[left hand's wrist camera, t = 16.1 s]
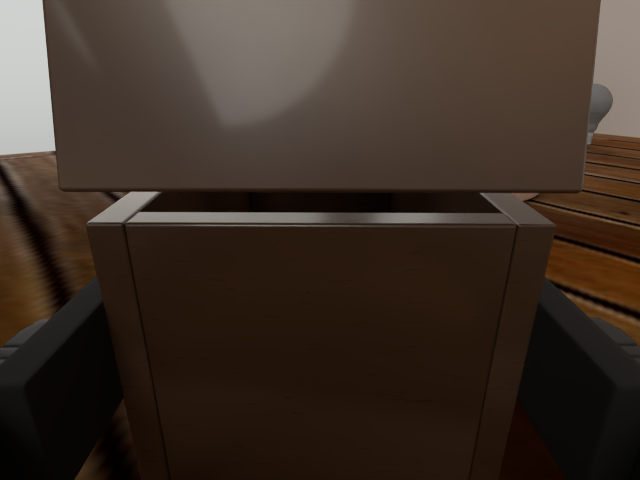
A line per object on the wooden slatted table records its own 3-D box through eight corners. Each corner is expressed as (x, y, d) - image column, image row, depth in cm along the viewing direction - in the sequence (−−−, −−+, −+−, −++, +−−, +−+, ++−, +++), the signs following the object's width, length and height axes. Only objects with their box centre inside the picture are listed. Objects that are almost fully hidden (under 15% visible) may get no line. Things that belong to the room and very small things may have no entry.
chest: (244, 272, 28) (233, 118, 24) (395, 272, 28) (407, 119, 24) (151, 531, 13) (83, 222, 9) (487, 532, 13) (558, 224, 9)
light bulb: (570, 148, 72) (583, 84, 69) (556, 142, 78) (568, 83, 74) (608, 149, 72) (624, 84, 68) (592, 143, 77) (606, 83, 73)
